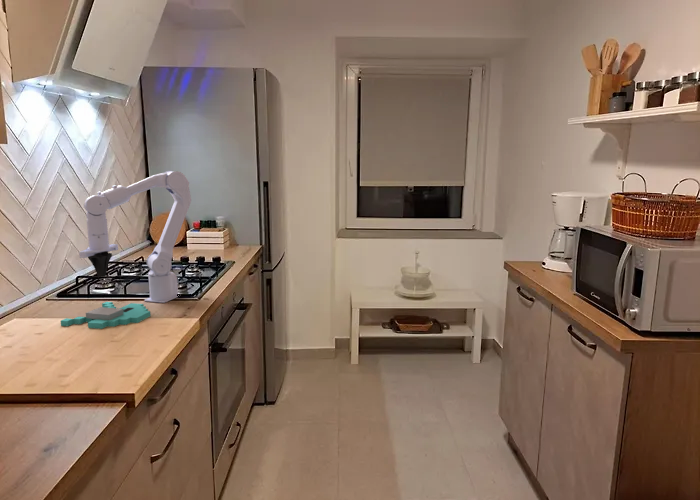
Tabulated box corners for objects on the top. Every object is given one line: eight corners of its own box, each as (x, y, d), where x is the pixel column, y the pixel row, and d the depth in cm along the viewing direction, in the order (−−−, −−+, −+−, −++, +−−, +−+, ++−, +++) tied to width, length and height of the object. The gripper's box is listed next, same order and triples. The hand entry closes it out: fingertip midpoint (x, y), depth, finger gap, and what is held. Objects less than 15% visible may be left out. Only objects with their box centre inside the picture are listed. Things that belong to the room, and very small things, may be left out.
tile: (100, 307, 152) (85, 312, 146) (123, 309, 150) (108, 314, 144) (101, 312, 152) (86, 318, 146) (123, 314, 150) (109, 320, 144)
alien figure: (61, 328, 144) (123, 332, 140) (60, 320, 144) (122, 325, 140) (107, 308, 163) (162, 311, 160) (106, 301, 163) (162, 305, 159)
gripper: (104, 230, 166) (107, 270, 168) (69, 236, 152) (73, 280, 154) (122, 231, 164) (125, 271, 166) (88, 237, 150) (92, 281, 153)
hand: (101, 276), depth 160 cm, fingers closed
